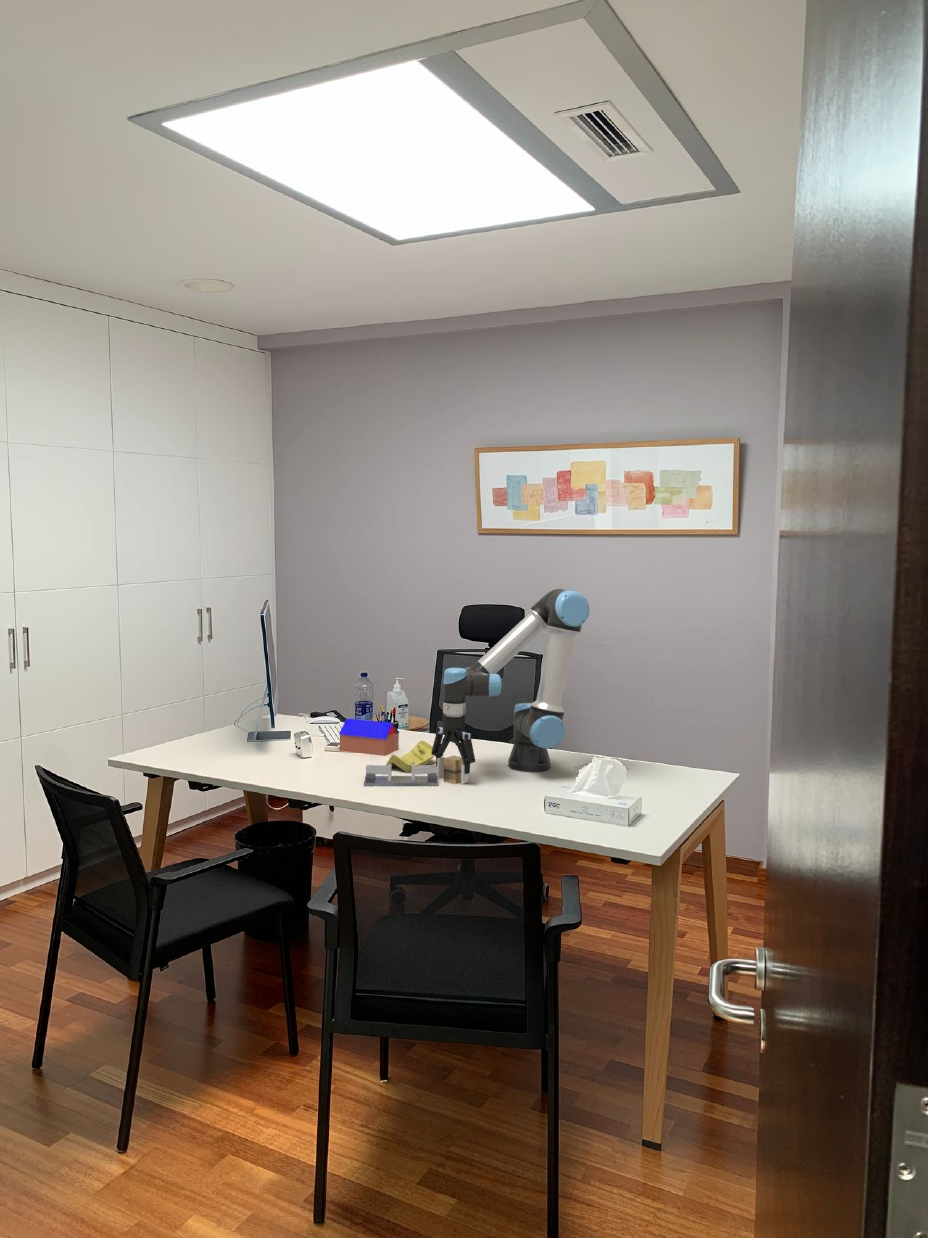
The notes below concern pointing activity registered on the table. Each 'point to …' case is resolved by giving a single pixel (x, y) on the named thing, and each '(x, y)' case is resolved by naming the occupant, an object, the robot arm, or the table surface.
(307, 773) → the table surface
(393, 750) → the house
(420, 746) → the plastic component
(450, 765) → the banded wooden block
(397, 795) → the table surface
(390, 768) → the shaft bench
